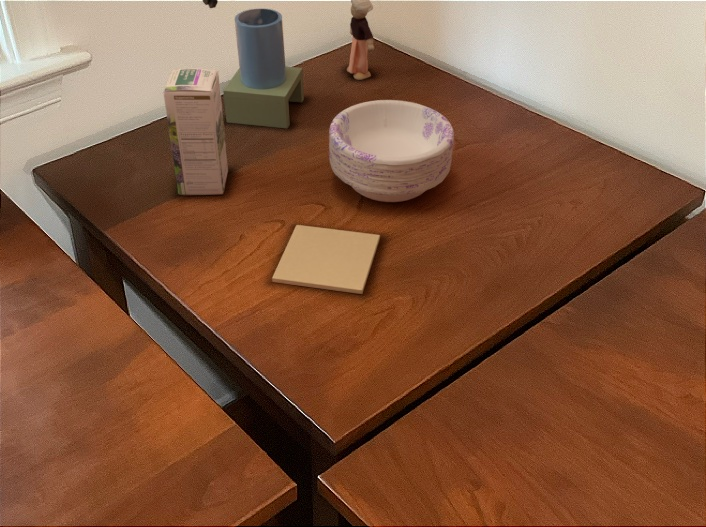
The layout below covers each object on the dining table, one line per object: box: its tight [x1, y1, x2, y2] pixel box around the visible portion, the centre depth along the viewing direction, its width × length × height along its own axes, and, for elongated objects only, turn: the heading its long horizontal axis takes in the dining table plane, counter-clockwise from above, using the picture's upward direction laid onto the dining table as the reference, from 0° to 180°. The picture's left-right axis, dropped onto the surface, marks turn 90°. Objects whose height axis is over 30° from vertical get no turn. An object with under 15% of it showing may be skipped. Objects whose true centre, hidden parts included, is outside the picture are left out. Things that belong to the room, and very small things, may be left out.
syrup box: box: [163, 67, 229, 196], centre depth 100 cm, size 6×6×14 cm
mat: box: [271, 224, 381, 295], centre depth 92 cm, size 10×10×1 cm
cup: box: [234, 8, 287, 89], centre depth 113 cm, size 6×6×9 cm
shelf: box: [222, 66, 305, 130], centre depth 117 cm, size 9×9×5 cm
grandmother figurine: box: [346, 0, 375, 81], centre depth 124 cm, size 8×4×13 cm, turn 34°
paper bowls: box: [328, 99, 455, 203], centre depth 102 cm, size 15×15×8 cm
